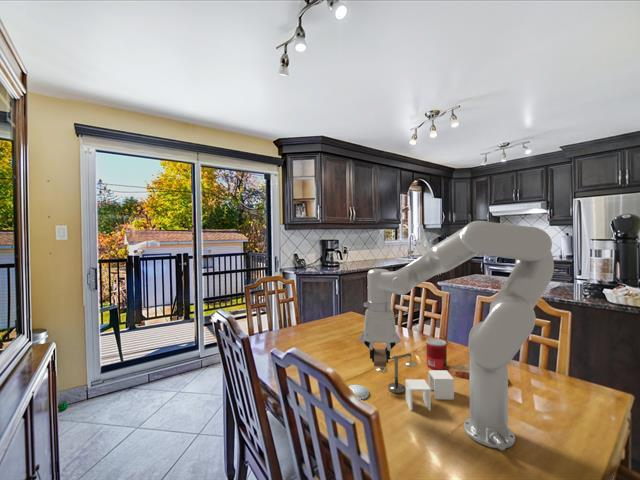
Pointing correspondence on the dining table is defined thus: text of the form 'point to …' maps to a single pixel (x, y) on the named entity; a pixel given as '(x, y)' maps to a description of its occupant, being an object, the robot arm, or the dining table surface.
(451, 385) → the cover
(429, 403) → the cover
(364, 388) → the dish
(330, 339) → the dining table surface
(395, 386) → the balance
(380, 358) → the block
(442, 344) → the canned food
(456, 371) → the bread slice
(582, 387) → the dining table surface
